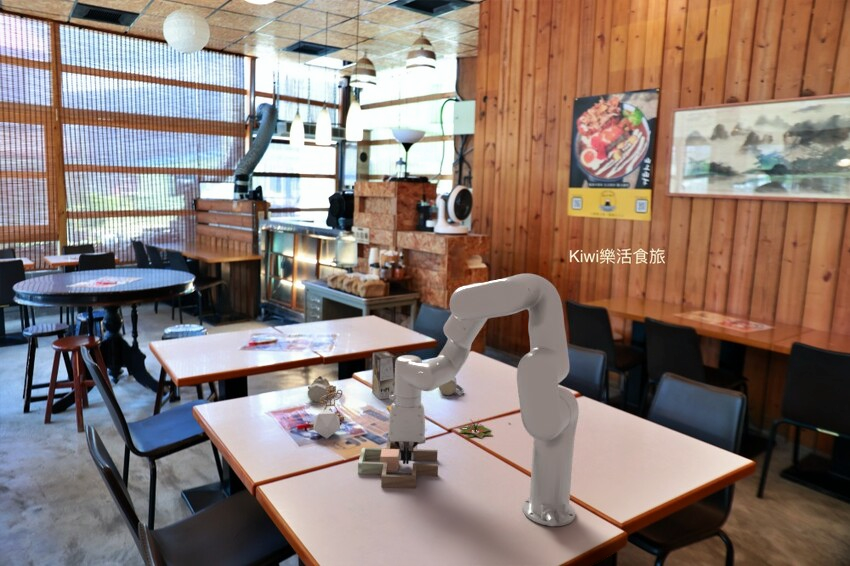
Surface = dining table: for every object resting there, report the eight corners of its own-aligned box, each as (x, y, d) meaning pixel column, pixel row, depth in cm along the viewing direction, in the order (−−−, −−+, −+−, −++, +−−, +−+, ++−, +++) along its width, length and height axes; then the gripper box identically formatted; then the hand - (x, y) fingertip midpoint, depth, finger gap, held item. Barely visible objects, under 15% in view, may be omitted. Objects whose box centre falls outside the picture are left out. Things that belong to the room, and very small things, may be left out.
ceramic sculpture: (301, 380, 208) (310, 370, 223) (301, 403, 209) (310, 392, 224) (330, 381, 208) (338, 371, 223) (330, 405, 209) (337, 393, 224)
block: (397, 470, 161) (398, 457, 160) (380, 469, 161) (380, 456, 160) (398, 462, 166) (399, 449, 165) (381, 461, 166) (381, 448, 165)
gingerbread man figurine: (318, 422, 192) (318, 388, 191) (316, 418, 196) (316, 384, 194) (344, 419, 196) (344, 386, 194) (341, 415, 199) (342, 382, 197)
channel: (438, 488, 151) (438, 478, 151) (354, 486, 151) (354, 475, 151) (436, 449, 175) (437, 439, 175) (364, 446, 175) (364, 437, 175)
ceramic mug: (438, 396, 222) (439, 377, 221) (437, 389, 230) (438, 371, 229) (464, 397, 222) (465, 378, 221) (462, 390, 230) (463, 372, 229)
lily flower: (463, 442, 182) (464, 428, 181) (452, 427, 193) (453, 414, 193) (499, 439, 185) (500, 425, 184) (486, 425, 196) (486, 412, 196)
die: (345, 438, 182) (344, 408, 187) (330, 433, 175) (329, 403, 180) (323, 443, 185) (323, 413, 190) (307, 438, 178) (307, 408, 183)
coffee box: (395, 397, 219) (396, 356, 216) (379, 399, 216) (380, 358, 214) (386, 390, 227) (387, 350, 225) (371, 392, 224) (371, 352, 222)
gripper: (379, 403, 157) (378, 467, 159) (434, 405, 157) (432, 469, 159) (382, 394, 164) (380, 455, 167) (434, 396, 164) (432, 457, 167)
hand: (405, 461), depth 163 cm, fingers closed
